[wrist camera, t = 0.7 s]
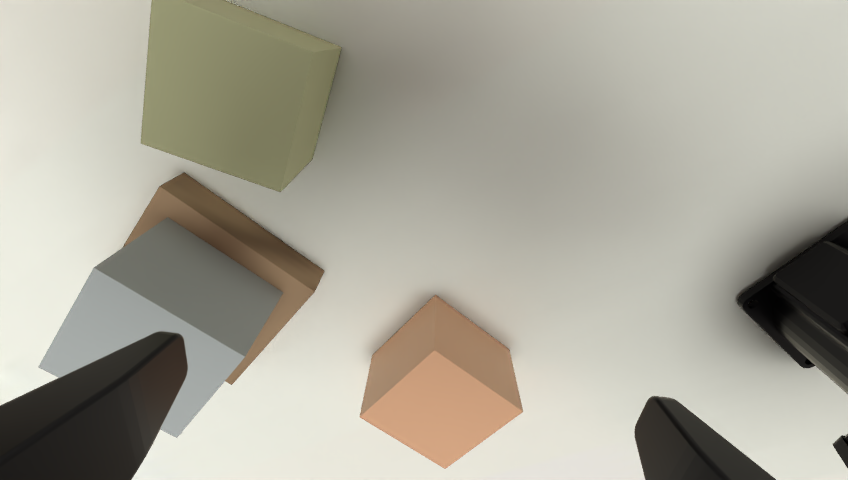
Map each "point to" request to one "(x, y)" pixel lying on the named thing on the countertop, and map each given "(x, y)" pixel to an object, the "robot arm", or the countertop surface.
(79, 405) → the robot arm
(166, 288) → the grey block
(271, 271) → the walnut slab
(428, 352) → the terracotta block
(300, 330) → the countertop surface
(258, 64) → the olive block
